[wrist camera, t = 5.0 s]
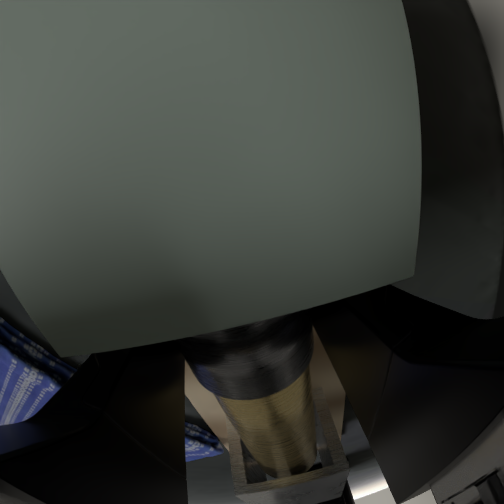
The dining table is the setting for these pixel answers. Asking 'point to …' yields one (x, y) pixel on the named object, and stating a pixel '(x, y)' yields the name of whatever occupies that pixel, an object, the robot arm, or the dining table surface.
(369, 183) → the socket
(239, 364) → the tube
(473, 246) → the dining table surface
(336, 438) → the sleeve
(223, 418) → the mounting board
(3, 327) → the dish towel
